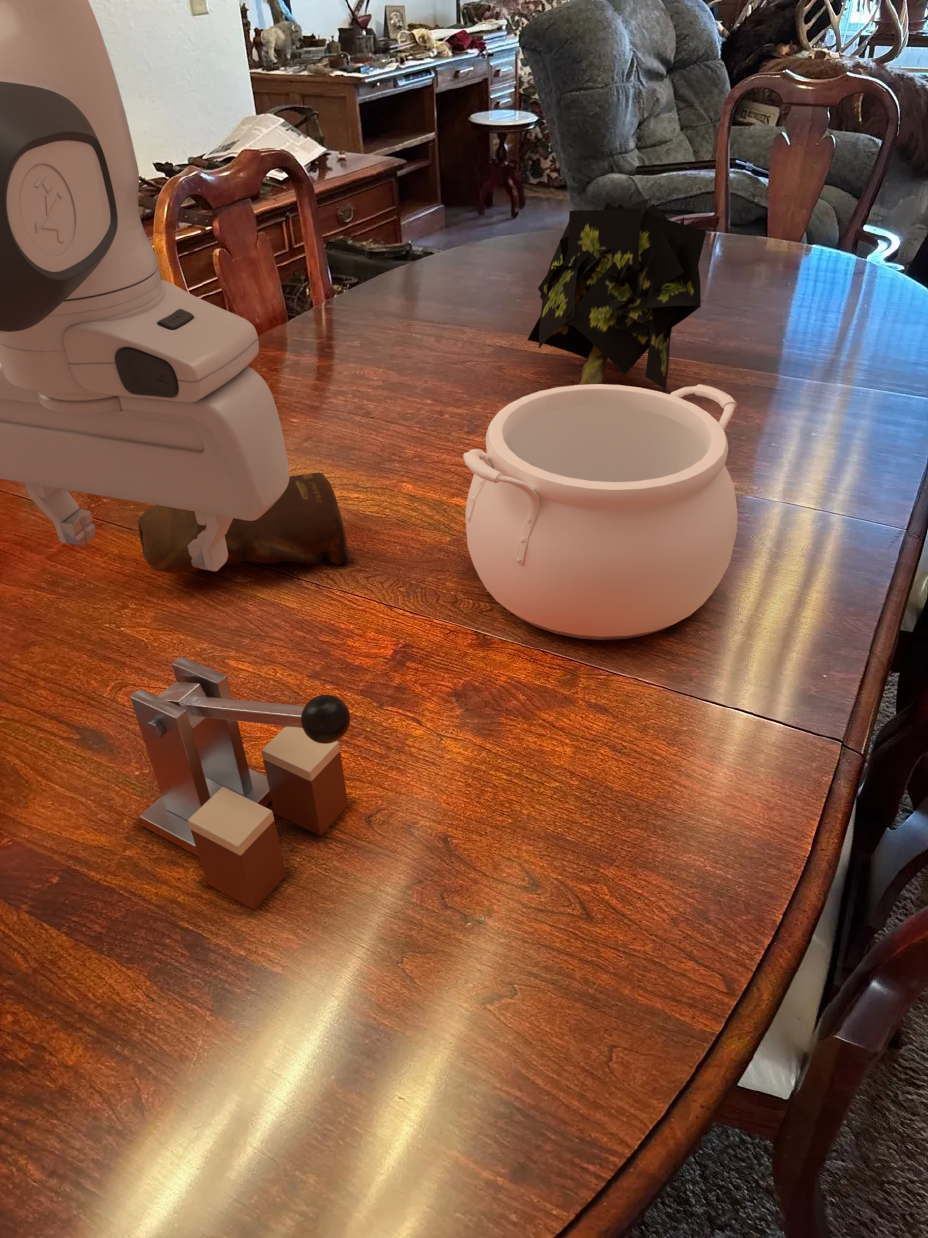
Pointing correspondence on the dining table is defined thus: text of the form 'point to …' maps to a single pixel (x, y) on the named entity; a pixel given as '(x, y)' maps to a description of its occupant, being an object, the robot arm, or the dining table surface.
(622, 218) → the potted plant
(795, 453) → the dining table surface
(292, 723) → the black ball knob lever
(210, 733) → the bracket
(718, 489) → the pot
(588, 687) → the dining table surface
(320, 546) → the dark brown bag
